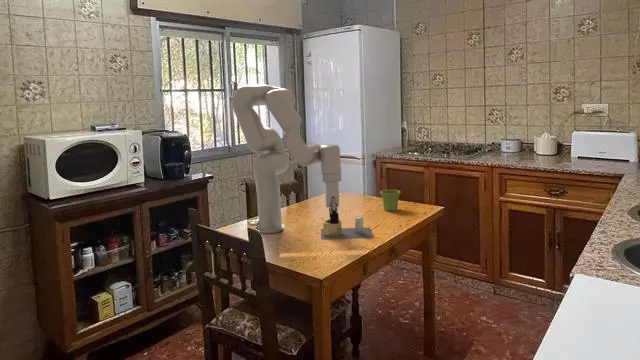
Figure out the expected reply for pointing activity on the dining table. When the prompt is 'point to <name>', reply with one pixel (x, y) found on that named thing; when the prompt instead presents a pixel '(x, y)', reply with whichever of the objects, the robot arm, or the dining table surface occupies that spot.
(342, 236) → the piston stand
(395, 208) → the plant pot
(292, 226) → the dining table surface
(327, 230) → the brass ring
